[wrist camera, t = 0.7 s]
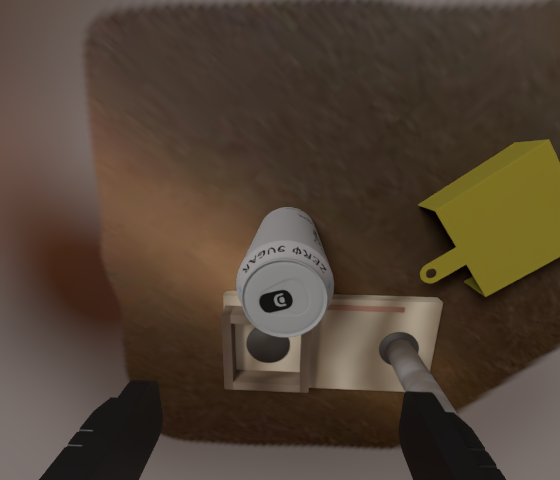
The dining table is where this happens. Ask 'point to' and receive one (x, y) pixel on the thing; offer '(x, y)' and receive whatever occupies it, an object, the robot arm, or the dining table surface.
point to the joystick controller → (338, 348)
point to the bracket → (501, 217)
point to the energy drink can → (285, 275)
